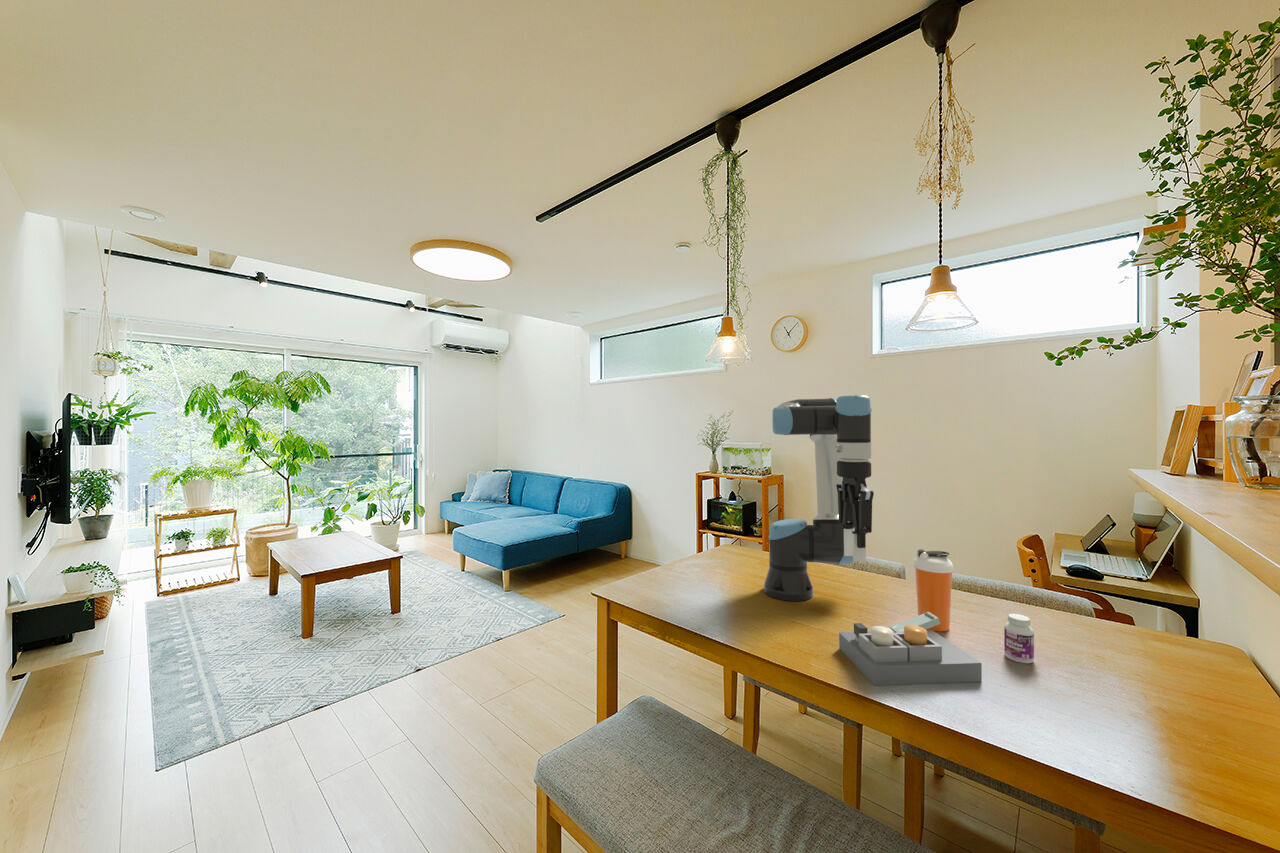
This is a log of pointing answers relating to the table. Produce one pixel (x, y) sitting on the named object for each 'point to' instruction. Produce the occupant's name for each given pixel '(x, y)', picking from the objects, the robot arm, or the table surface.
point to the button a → (882, 636)
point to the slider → (859, 629)
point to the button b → (915, 635)
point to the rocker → (917, 622)
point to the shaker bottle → (934, 585)
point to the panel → (910, 660)
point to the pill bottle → (1019, 639)
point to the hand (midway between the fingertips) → (854, 558)
